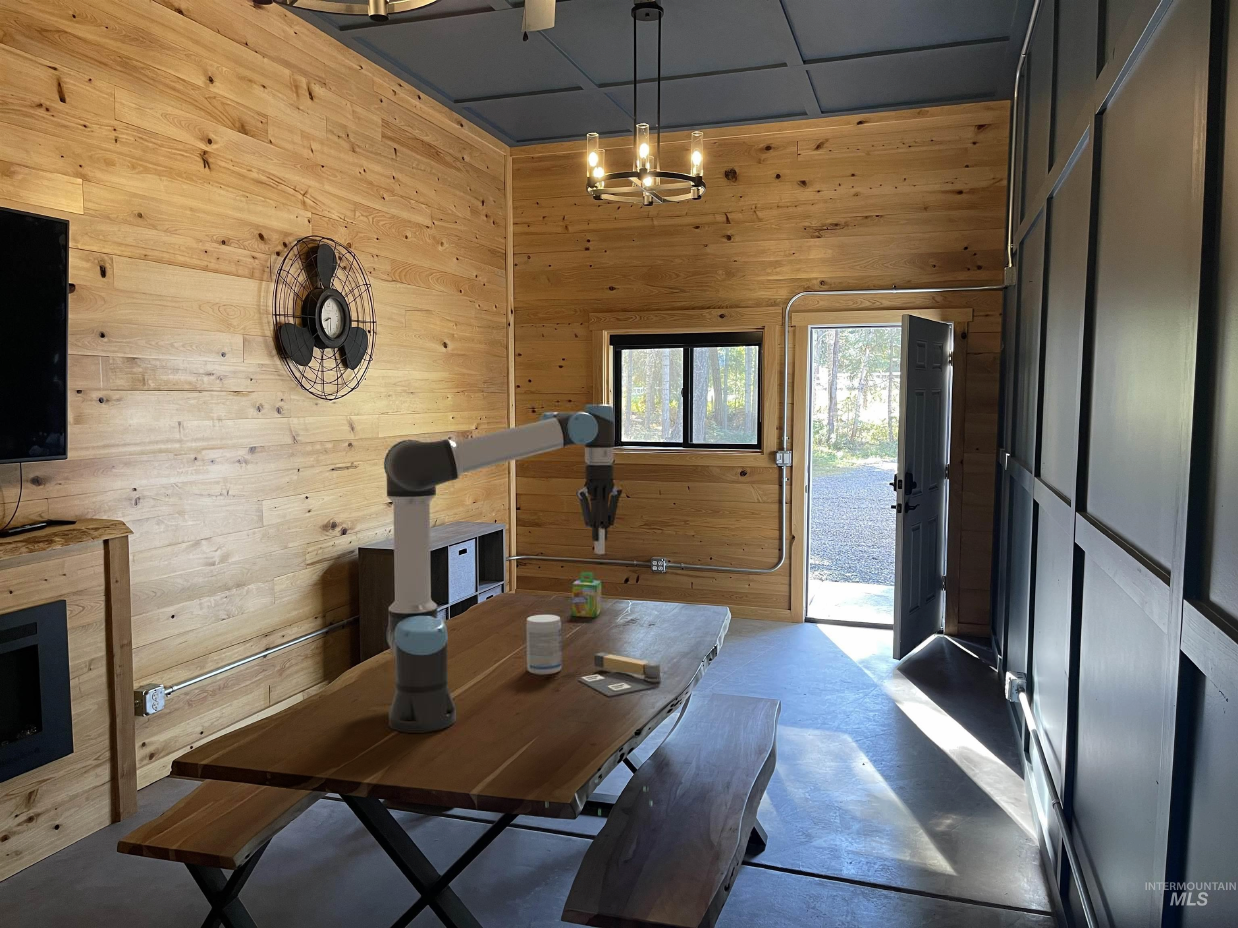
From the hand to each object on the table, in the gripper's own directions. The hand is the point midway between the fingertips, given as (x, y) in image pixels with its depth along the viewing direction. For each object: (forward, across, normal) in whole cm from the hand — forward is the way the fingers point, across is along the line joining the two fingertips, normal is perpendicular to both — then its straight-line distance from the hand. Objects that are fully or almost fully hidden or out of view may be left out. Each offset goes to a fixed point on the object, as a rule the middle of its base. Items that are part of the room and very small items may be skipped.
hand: (599, 553), depth 229 cm
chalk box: (+35, +35, +69) cm, 85 cm away
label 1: (+34, -1, +2) cm, 34 cm away
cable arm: (+33, +9, 0) cm, 34 cm away
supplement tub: (+35, -8, +17) cm, 39 cm away
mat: (+34, +2, -4) cm, 35 cm away
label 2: (+34, +1, -8) cm, 35 cm away
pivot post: (+34, +12, -7) cm, 37 cm away
